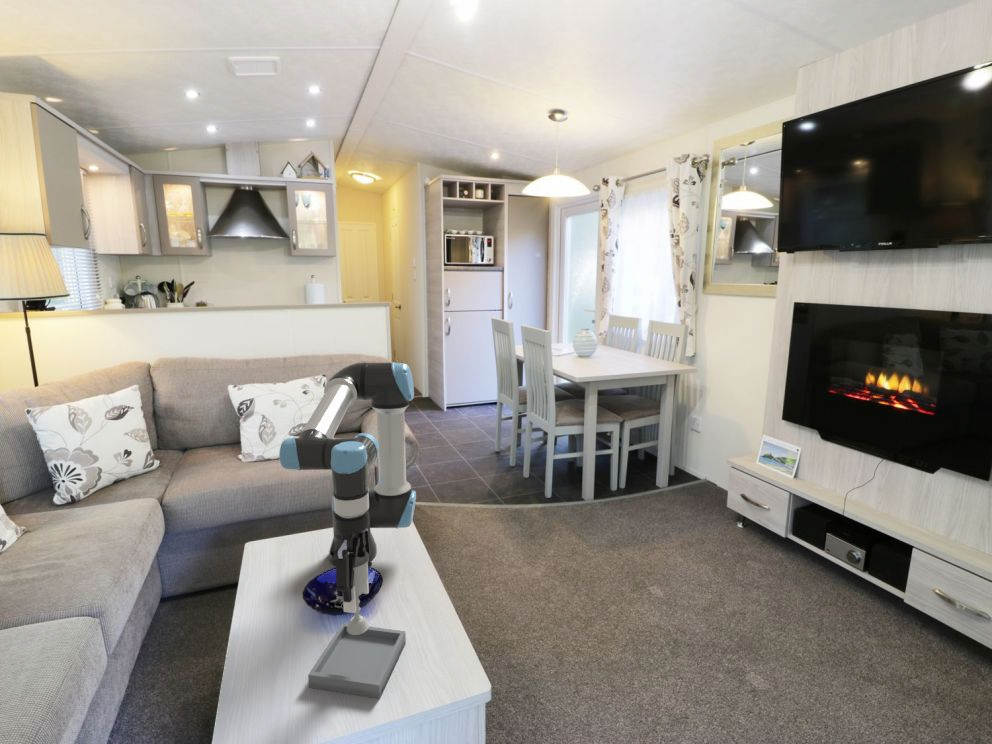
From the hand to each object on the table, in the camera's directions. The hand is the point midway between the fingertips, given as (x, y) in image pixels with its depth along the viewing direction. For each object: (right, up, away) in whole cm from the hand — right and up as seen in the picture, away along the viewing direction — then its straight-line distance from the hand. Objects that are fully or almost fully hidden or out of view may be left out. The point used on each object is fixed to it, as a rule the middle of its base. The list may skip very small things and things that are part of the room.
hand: (356, 601), depth 117 cm
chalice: (0, -7, +1) cm, 7 cm away
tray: (0, -17, +4) cm, 17 cm away
